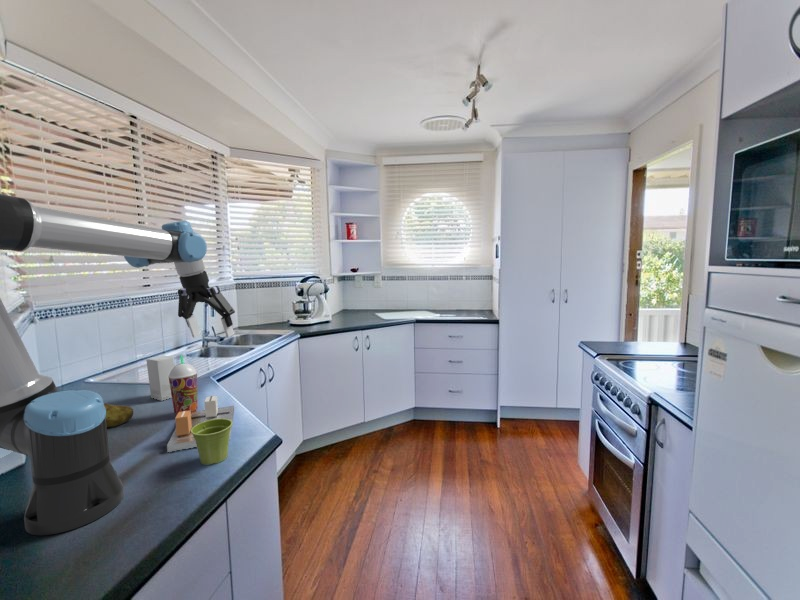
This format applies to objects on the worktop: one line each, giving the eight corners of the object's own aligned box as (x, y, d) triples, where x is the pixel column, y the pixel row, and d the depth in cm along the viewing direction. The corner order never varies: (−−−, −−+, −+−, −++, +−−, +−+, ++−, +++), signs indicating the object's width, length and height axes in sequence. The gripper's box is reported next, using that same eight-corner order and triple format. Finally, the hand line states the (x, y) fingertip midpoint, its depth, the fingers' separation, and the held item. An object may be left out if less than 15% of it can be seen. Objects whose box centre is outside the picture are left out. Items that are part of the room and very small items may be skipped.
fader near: (176, 435, 103) (175, 418, 103) (180, 428, 108) (178, 411, 107) (188, 433, 104) (187, 416, 104) (191, 426, 109) (190, 409, 108)
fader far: (205, 417, 115) (204, 401, 115) (207, 411, 120) (206, 396, 120) (216, 415, 116) (215, 400, 116) (218, 410, 121) (216, 395, 121)
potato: (136, 424, 118) (134, 399, 117) (83, 437, 110) (80, 410, 109) (133, 416, 124) (131, 393, 124) (82, 428, 116) (80, 403, 115)
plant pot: (242, 452, 97) (240, 420, 96) (213, 471, 88) (211, 436, 88) (215, 447, 100) (212, 416, 100) (184, 465, 92) (181, 431, 91)
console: (167, 452, 99) (166, 445, 98) (183, 419, 121) (183, 412, 121) (229, 441, 104) (229, 434, 104) (234, 411, 126) (233, 405, 126)
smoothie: (187, 419, 121) (182, 358, 119) (165, 418, 122) (160, 358, 120) (206, 409, 129) (201, 352, 127) (185, 408, 130) (180, 352, 129)
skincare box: (178, 396, 143) (175, 356, 142) (160, 402, 138) (156, 360, 137) (167, 393, 148) (164, 354, 147) (149, 398, 142) (145, 358, 141)
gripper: (234, 267, 113) (252, 330, 120) (170, 271, 121) (192, 330, 128) (216, 274, 106) (237, 341, 114) (150, 278, 114) (174, 340, 121)
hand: (213, 335), depth 121 cm, fingers open, 13 cm apart
